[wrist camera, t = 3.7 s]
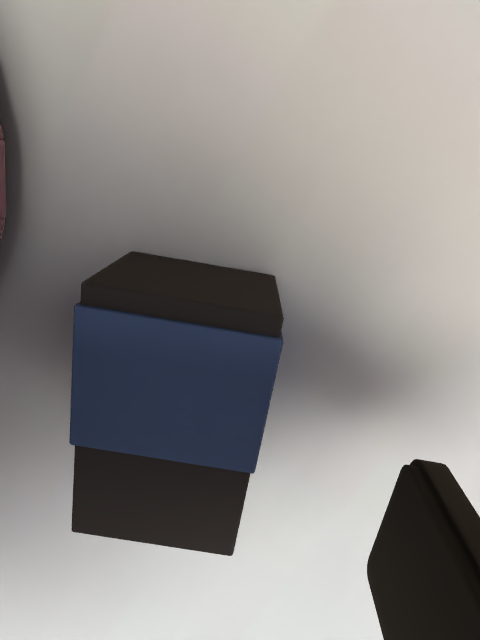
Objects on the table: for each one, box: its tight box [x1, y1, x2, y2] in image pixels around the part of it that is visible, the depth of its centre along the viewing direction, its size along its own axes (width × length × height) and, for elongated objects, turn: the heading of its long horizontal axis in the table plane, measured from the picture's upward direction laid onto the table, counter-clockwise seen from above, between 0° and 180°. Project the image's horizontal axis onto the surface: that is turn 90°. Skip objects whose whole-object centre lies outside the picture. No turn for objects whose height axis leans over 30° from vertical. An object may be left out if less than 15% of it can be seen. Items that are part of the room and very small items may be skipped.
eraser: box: [70, 252, 284, 556], centre depth 12 cm, size 5×7×4 cm, turn 170°
